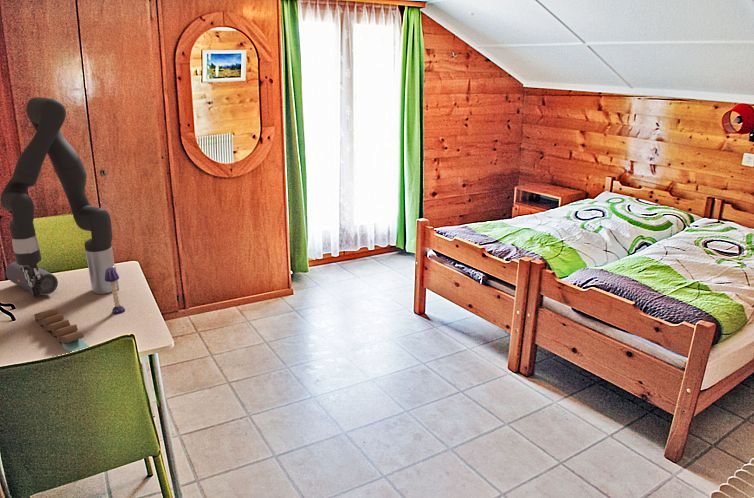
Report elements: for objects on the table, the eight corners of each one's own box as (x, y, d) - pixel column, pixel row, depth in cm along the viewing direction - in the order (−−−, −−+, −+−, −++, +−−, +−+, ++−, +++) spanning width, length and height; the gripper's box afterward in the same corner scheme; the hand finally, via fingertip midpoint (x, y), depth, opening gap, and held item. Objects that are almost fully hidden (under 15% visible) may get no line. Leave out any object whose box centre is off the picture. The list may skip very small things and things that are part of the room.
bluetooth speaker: (6, 287, 229) (1, 264, 225) (30, 280, 236) (25, 256, 233) (37, 301, 217) (31, 277, 213) (61, 293, 224) (56, 269, 221)
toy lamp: (117, 315, 207) (110, 271, 201) (107, 313, 208) (100, 269, 203) (127, 309, 211) (121, 267, 205) (117, 307, 213) (110, 265, 207)
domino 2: (38, 319, 199) (46, 318, 192) (53, 315, 203) (62, 313, 195) (40, 325, 199) (48, 324, 192) (55, 320, 203) (64, 319, 196)
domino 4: (51, 330, 192) (59, 329, 185) (67, 325, 195) (76, 324, 188) (53, 336, 192) (61, 335, 185) (69, 331, 196) (78, 330, 188)
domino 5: (56, 336, 188) (65, 336, 181) (72, 331, 192) (82, 331, 184) (58, 342, 189) (67, 342, 181) (74, 336, 192) (84, 337, 185)
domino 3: (43, 325, 196) (52, 324, 189) (58, 320, 199) (68, 319, 192) (45, 330, 196) (54, 330, 189) (60, 325, 199) (70, 325, 192)
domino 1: (33, 314, 203) (41, 313, 196) (49, 309, 206) (57, 308, 199) (35, 319, 203) (43, 318, 196) (50, 315, 207) (58, 314, 199)
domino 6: (61, 342, 185) (74, 353, 179) (78, 337, 189) (91, 347, 183) (62, 348, 186) (76, 359, 180) (79, 342, 189) (92, 353, 183)
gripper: (6, 247, 198) (17, 293, 204) (22, 256, 190) (32, 304, 196) (30, 241, 204) (39, 287, 210) (46, 250, 196) (55, 297, 202)
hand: (36, 295), depth 203 cm, fingers closed
